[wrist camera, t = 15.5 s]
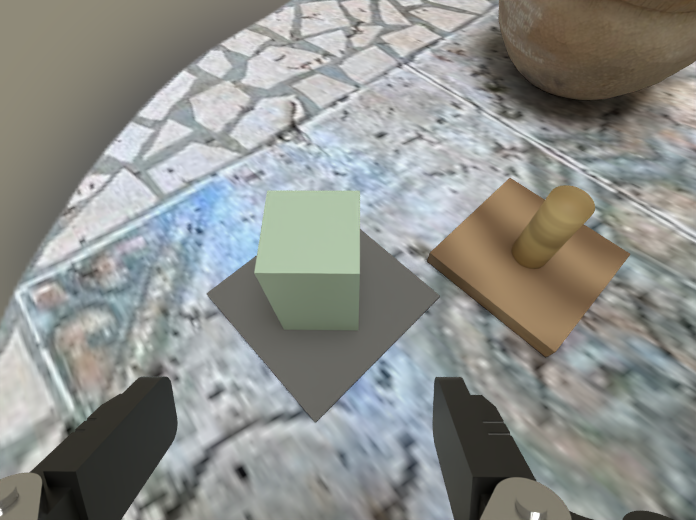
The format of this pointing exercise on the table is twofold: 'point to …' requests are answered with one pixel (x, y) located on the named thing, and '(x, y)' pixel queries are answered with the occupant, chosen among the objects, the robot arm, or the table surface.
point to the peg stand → (531, 261)
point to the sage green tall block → (311, 258)
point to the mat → (327, 345)
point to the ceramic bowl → (598, 43)
